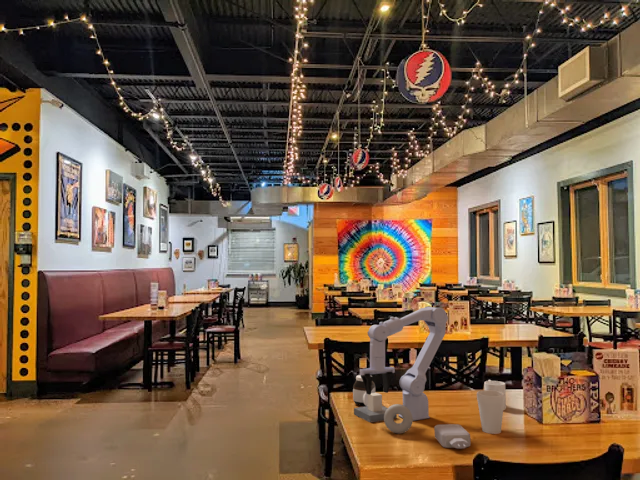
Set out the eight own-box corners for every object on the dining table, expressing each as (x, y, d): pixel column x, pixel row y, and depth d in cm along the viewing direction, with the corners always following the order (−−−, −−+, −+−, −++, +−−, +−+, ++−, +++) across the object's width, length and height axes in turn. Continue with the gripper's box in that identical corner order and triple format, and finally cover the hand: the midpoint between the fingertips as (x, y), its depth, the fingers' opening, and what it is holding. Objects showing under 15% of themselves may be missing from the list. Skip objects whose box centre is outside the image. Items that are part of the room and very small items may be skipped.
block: (376, 408, 198) (376, 392, 198) (382, 410, 194) (381, 394, 194) (367, 409, 196) (367, 393, 196) (373, 411, 192) (373, 395, 193)
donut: (412, 432, 175) (412, 403, 176) (413, 435, 172) (412, 405, 172) (384, 431, 177) (383, 402, 177) (384, 434, 173) (383, 405, 174)
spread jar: (362, 400, 220) (362, 373, 221) (385, 404, 213) (385, 376, 214) (348, 406, 210) (347, 378, 211) (371, 410, 204) (371, 381, 205)
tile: (379, 410, 203) (379, 404, 203) (396, 418, 192) (396, 411, 192) (354, 414, 198) (353, 408, 198) (369, 422, 187) (369, 415, 187)
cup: (498, 402, 215) (497, 378, 215) (509, 410, 203) (508, 385, 203) (479, 402, 214) (478, 379, 215) (489, 410, 202) (488, 385, 203)
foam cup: (485, 425, 183) (484, 389, 184) (510, 430, 176) (509, 393, 177) (472, 431, 176) (471, 393, 177) (497, 437, 169) (496, 398, 170)
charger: (448, 455, 154) (434, 439, 169) (477, 454, 154) (461, 438, 169) (447, 439, 154) (434, 424, 169) (477, 438, 154) (461, 424, 169)
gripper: (387, 354, 197) (387, 389, 196) (355, 356, 191) (355, 392, 190) (397, 356, 191) (397, 393, 190) (365, 359, 184) (364, 396, 183)
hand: (377, 393), depth 189 cm, fingers open, 7 cm apart
